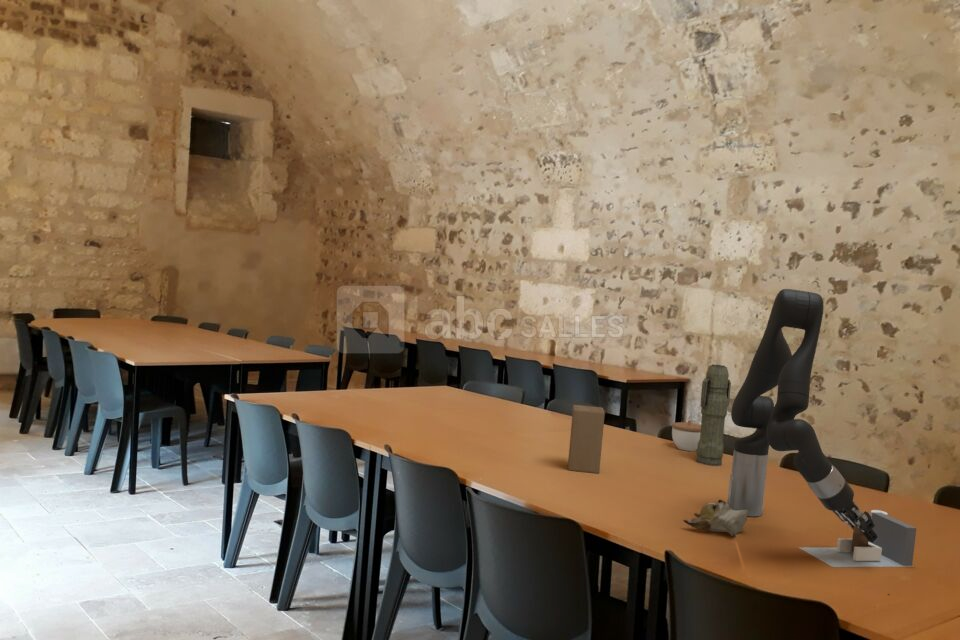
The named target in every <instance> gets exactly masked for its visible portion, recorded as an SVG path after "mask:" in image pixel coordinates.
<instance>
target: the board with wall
mask: <svg viewBox="0 0 960 640" xmlns="http://www.w3.org/2000/svg"><path fill="white" fill-rule="evenodd" d="M872 521H873V523H874V525H875V526H874V527H873V528H872V530H873V531H874V532H875V533H876V535H877V539H876V540H875V541H874V542H872V544H875V545H877V546H879V547H881V548H882V553H881V561H855V560H853V554H854V553H853V552H839V551H837V546H836V547H828V546H826V547H822V546H821V547H817V546H816V547H815V546H814V547H806V546H805V547H798V549H800V550H802V551H804V552H805V553H807V554H809V555H811V556H812V557H813V558H816V559H817V560H820V561H821V562H822V563H825V564H826V565H828V566H830V567H831V568H869V567H870V568H879V567H881V568H882V567H883V568H893V567H895V568H897V567H903V568H904V567H905V568H908V567H909V568H911V567H915V565H913V560H914V553H915V543H916V534H917V527H916V526H913V525H910V524H908V523H906V522H903V521H902V520H899V519H897V518H894V517H892V516H890V515H889V514H888V515H885V514H883V513H874V512H872ZM870 543H871V542H870Z"/></svg>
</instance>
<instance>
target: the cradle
mask: <svg viewBox="0 0 960 640" xmlns="http://www.w3.org/2000/svg"><path fill="white" fill-rule="evenodd" d="M852 538H853V537H851V538H850V537H849V538H846V537H845V538H841V537H840V538H839V537H838V538H837V542H836V547H837V551H839V552H852V551H851V547H852ZM881 553H882V548H881V547H879V546H877V545H875V544H872V543H870V542H868V547H854V554H853V560H855V561H881Z"/></svg>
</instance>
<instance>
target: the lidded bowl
mask: <svg viewBox="0 0 960 640" xmlns="http://www.w3.org/2000/svg"><path fill="white" fill-rule="evenodd" d="M671 424H672V425H671V428H672V429H671V437H672V442H673V443H674V445H675V447H676V448H677V449H678V450H681V451H687V452H697V447H698V442H699V440H700V432H701V424H697V423H694V422H693V423H692V420H689V419H688V420H687V422H684V421H683V422H673V423H671Z"/></svg>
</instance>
